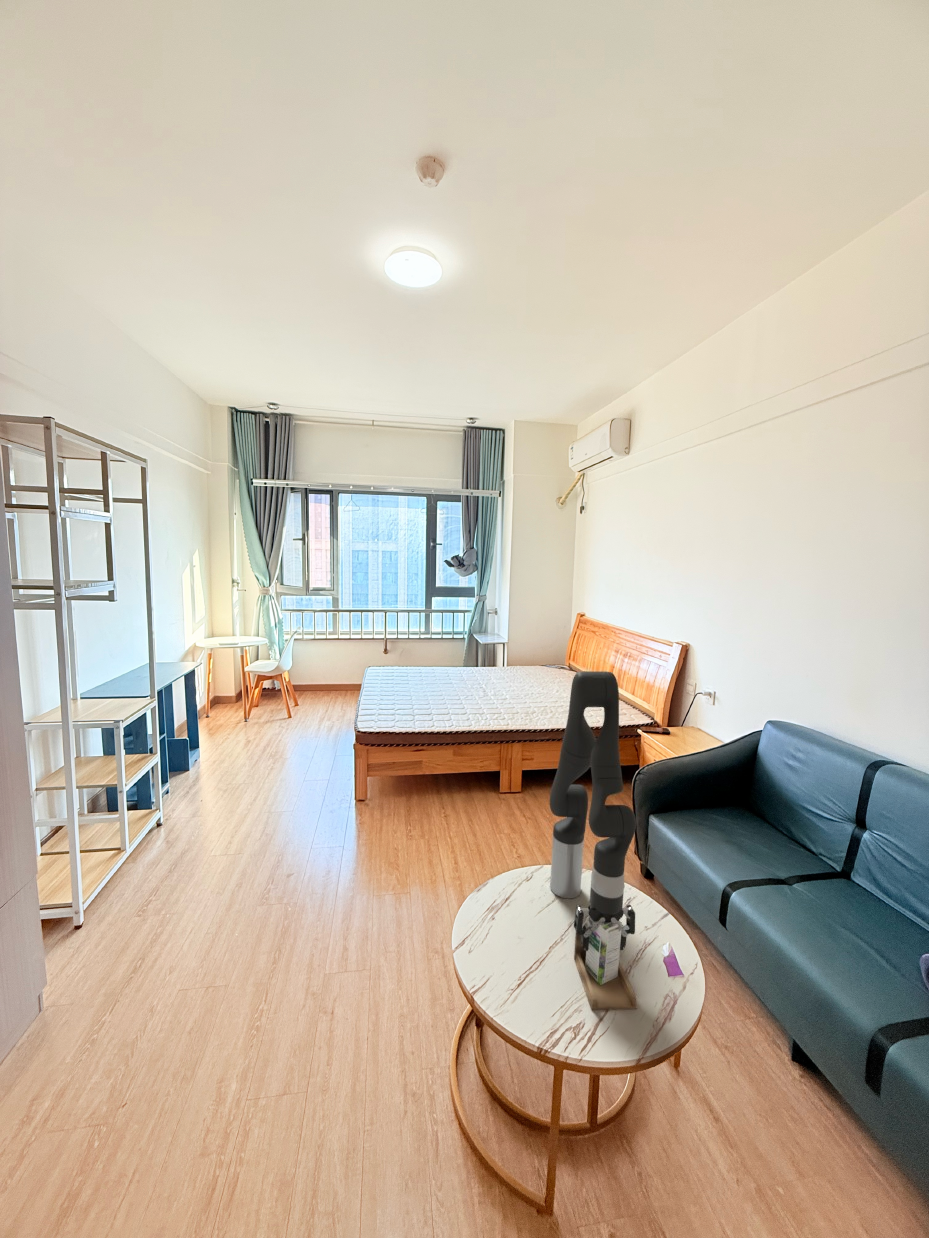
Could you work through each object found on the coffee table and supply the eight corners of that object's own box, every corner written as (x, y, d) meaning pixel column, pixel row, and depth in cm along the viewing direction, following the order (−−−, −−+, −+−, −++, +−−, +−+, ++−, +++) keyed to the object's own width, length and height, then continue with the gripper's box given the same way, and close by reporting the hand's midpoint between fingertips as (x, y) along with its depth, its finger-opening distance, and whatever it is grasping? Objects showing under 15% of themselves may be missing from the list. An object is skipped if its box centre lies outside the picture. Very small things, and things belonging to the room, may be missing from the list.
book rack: (573, 958, 123) (576, 922, 122) (614, 958, 124) (616, 921, 123) (591, 1009, 109) (594, 968, 108) (636, 1008, 110) (639, 967, 109)
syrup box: (583, 967, 120) (587, 913, 118) (602, 959, 123) (606, 906, 121) (600, 986, 115) (604, 930, 113) (618, 977, 118) (623, 922, 116)
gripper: (630, 875, 120) (625, 935, 122) (573, 875, 119) (569, 936, 121) (643, 896, 112) (637, 960, 114) (582, 896, 112) (578, 960, 114)
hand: (602, 947), depth 118 cm, fingers open, 8 cm apart
